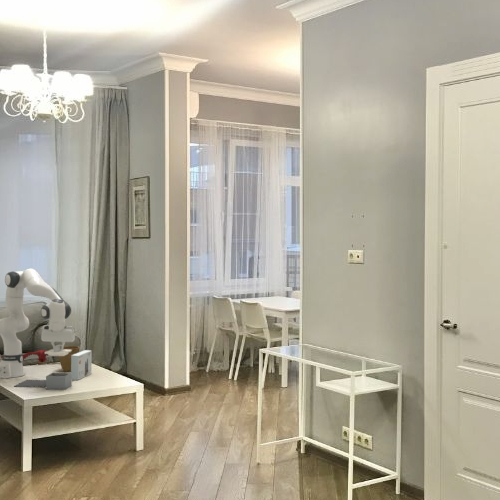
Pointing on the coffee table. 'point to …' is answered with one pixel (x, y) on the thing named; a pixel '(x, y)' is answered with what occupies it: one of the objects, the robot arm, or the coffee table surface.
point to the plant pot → (68, 358)
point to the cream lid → (57, 351)
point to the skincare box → (81, 364)
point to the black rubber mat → (32, 383)
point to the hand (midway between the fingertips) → (58, 349)
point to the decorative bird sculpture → (40, 354)
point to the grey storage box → (58, 381)
